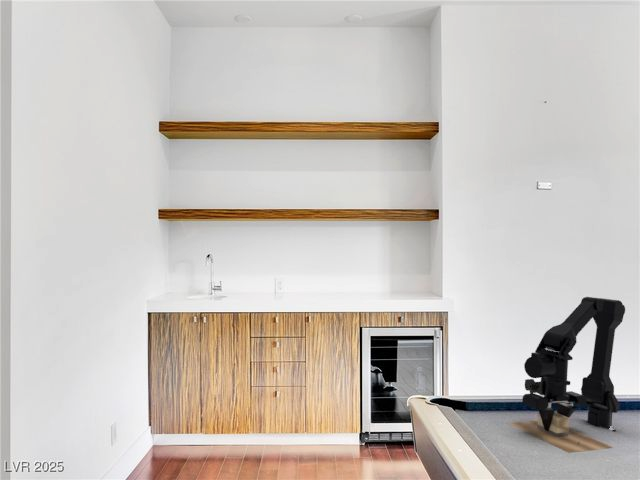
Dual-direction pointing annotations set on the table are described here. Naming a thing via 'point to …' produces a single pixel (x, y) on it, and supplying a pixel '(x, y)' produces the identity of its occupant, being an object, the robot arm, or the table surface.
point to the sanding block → (556, 425)
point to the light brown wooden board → (562, 438)
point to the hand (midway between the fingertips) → (552, 430)
